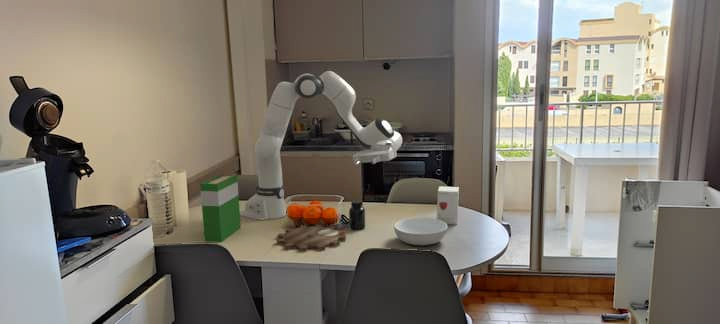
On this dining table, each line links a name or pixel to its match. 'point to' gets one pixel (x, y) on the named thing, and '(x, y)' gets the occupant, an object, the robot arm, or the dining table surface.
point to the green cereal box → (220, 207)
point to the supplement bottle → (357, 215)
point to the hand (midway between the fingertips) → (363, 162)
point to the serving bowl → (420, 230)
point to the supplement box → (448, 204)
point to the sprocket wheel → (311, 238)
